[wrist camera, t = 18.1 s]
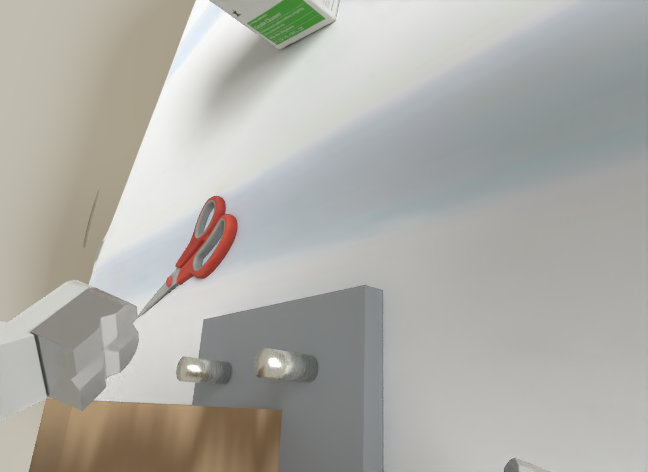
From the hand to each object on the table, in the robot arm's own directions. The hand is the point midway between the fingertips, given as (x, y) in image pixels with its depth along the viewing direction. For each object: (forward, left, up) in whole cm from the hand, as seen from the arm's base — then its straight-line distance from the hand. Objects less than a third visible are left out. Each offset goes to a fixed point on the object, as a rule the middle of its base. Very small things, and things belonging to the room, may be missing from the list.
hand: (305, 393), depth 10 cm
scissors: (-12, -36, -15) cm, 41 cm away
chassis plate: (+2, -19, -14) cm, 23 cm away
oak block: (+2, -19, -12) cm, 22 cm away
